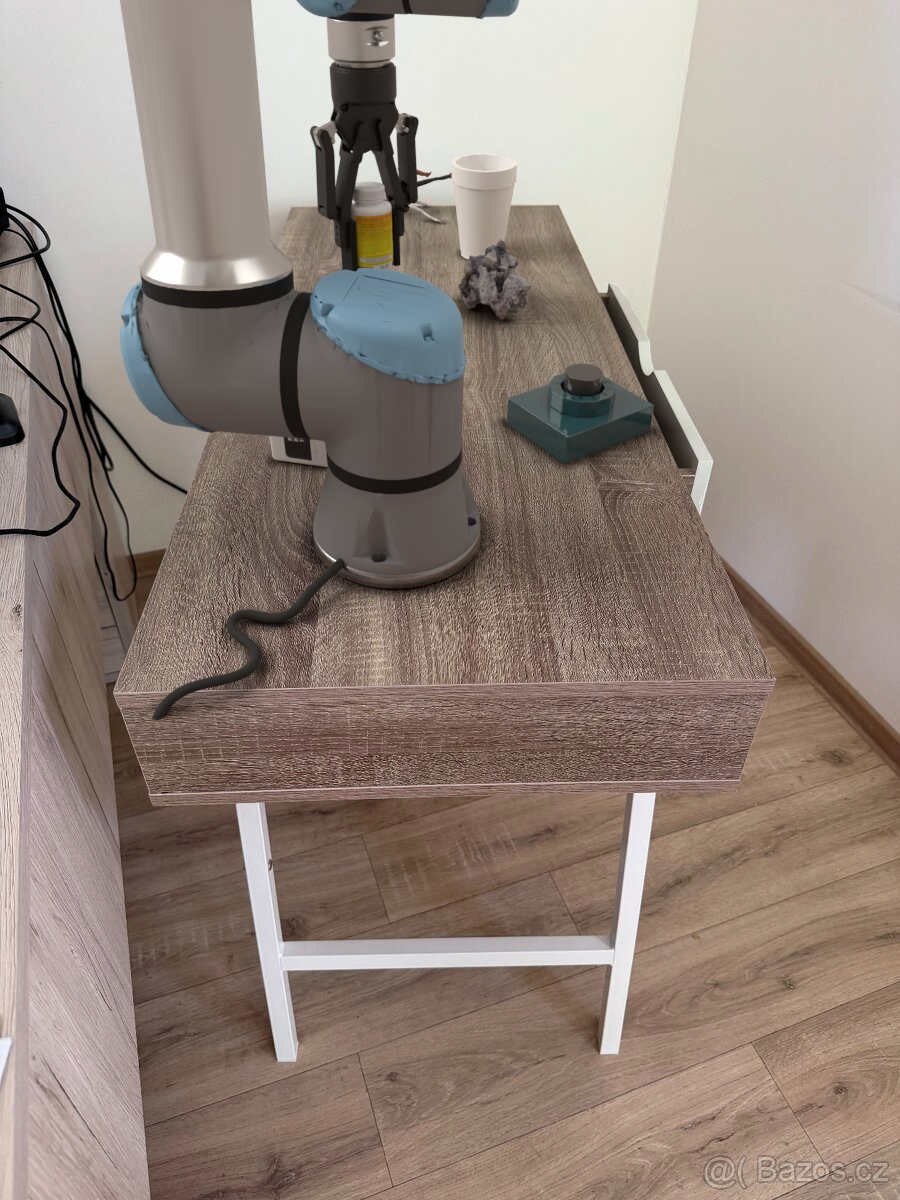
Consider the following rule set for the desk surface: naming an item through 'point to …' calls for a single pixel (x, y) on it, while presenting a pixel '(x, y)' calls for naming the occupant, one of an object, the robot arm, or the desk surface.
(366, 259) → the supplement bottle
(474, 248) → the foam cup
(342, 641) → the desk surface
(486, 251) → the mineral specimen
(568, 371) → the push button
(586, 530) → the desk surface
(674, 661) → the desk surface
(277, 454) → the container
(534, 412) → the teal button base
